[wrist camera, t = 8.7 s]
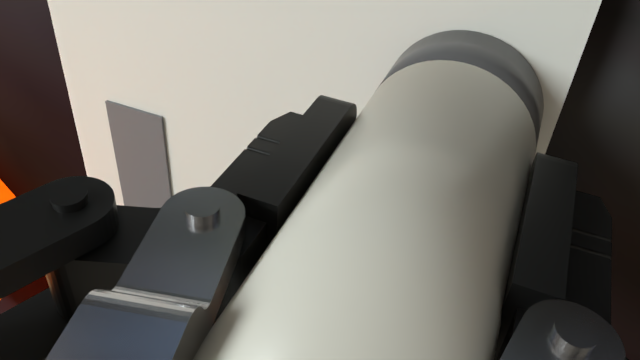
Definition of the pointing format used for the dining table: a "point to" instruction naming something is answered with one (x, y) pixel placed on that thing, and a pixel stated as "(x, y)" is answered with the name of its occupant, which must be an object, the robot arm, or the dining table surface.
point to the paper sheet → (263, 71)
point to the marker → (402, 220)
